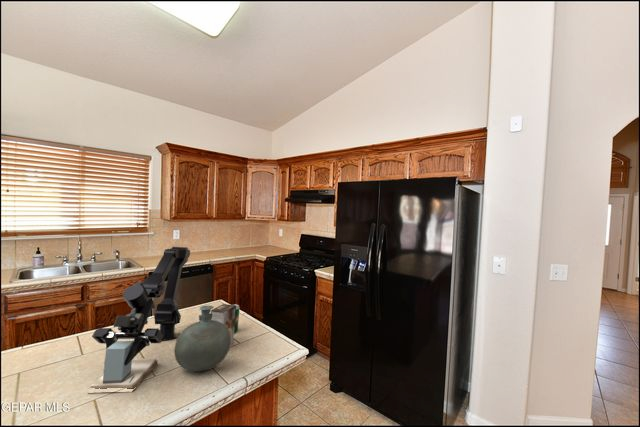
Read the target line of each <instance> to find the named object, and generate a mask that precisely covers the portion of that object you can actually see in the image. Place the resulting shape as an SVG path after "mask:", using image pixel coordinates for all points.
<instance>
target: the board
mask: <svg viewBox="0 0 640 427" xmlns="http://www.w3.org/2000/svg"><path fill="white" fill-rule="evenodd" d="M158 363H159V362H158V359H157V358H133V359H132V366H131V373H130V374H129V376H128V377H127V378H126V379H125V380H124V381H123V382H122V383H105V384H103V375H101V377H99V378H98V379H97V380H96V381H95V382H93V383H92V384H91V385H90V387H89V388H95V389H99V388H100V389H107V388H127V389H134V388H135V387H136V386H137V385H138V386H139V385H140V384H141V383H142V382H143V381H144V380H145V379H146V377H147V376H148V375H149V374H150V373H151V372H152V371H153V369H154V368H156V366H157V365H158ZM143 379H144V380H143ZM142 380H143V381H142ZM141 381H142V382H141ZM140 382H141V383H140ZM139 383H140V384H139ZM138 386H137V387H138Z"/></svg>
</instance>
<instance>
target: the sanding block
mask: <svg viewBox="0 0 640 427" xmlns="http://www.w3.org/2000/svg"><path fill="white" fill-rule="evenodd" d="M133 344H134V340H126V341H125V340H120V341H118V340H117V341H116V342H115V343H114V344H112V345H111V346H110V347H108V348H107V349H106V348H105V355H106V356H105V357H104V363H105V365H104V367H103V375H102V376H103V384H105V383H122V382H123V381H124V380H125V379H126V378H127V377H128V376H129V374H130V373H131V366H132V360H131V361H130V362H129V363H128V364H127V365H124V363H125V361H126V358H127V356H128V354H129V352H130V350H131V348H132V346H133Z"/></svg>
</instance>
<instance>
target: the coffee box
mask: <svg viewBox="0 0 640 427" xmlns="http://www.w3.org/2000/svg"><path fill="white" fill-rule="evenodd" d="M236 305H237V304H228V303H227V304H226V303H222V304H220V305H219V306H217V307H215V308H212V309H211V311H210V313H212V319H211V320H214V321H219V322H221V323H223V324H224V325H225V326H226V327H227V328H228V330H229V333H230V337H231V344H230V346H231V345H232V344H233V343H234V340H235V338H234V337H235V333H234V328H235V314H236Z"/></svg>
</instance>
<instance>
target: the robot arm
mask: <svg viewBox="0 0 640 427" xmlns="http://www.w3.org/2000/svg"><path fill="white" fill-rule="evenodd" d="M190 255H191V250H190V249H189V248H188V247H185V246H172V247H171V248H166V249H164V251H163V255H162V257H161V259H160V260H159V262H158V263H157V265H156V267H155V269H154V271H153V272H152V274H150V275H149V276H148V277H146V278H145V279H144V280H143V281H142V282H140V281H139V282H138V281H135V283H134V284H133V285H130V286H129V287H126V289H125V290H124V291H123V292H122V298H123V300H124V301H125V302H126V303H127V304H128V306H129V307H130V308H131V310H130V311H129V312H130V313H127V314H126V315H116V317H115V320H114V323H113V328H117V330H118V331H117V332H116V331H114V330H113V329H112V328H109V327H99V328H97V329H95V330H94V332H93V334H92V336H91V337H92V338H93V339H94V340H95V341H96V343H98V344H101V345H102V344H105V350H106V349H107V348H108V347H110V346H111V345H112V344H114V343H115V342H116V341H118V340H131V339H132V340H133V341H134V344H133V346H132V348H131V350H130V352H129V354H128V356H127V358H126V361H125V363H124V365H127V364H128V363H129V362H130V361H131V360H132V359H135V357H136V356H137V355H138V354H140V353H141V351H142V350H144V349H145V348H146V347H149V346H150V345H151V344H161V343H162V342H163V341H168V340H173V339H177V335H176V333H175V330H176V325H177V324H180V323H181V319H182V318H181V317H182V315H181V313H180V310H179V304H178V301H177V295H178V291H179V285H180V281H181V275H182V270H183V267H184V265H186V264H187V262H188V260H189V258H190ZM166 279H167V282H166V284H165V280H166ZM163 294H164V296H163ZM162 296H163V299H162V300H161V302H159V303H158V304H156V305H155V301H154V300H153V299H159V298H160V297H162ZM155 306H156V307H155ZM155 308H156V310H155V311H154V316H153V317H154V325H159V328H154V327H153V328H151V327H149V328H146V329H144V327H145V325H147V324H148V322H149V321H148V319H149V316H150V313H151V312H152V309H155ZM143 330H144V332H143ZM150 343H151V344H150ZM105 356H106V354H105ZM103 364H104V365H105V362H104V363H103Z"/></svg>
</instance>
